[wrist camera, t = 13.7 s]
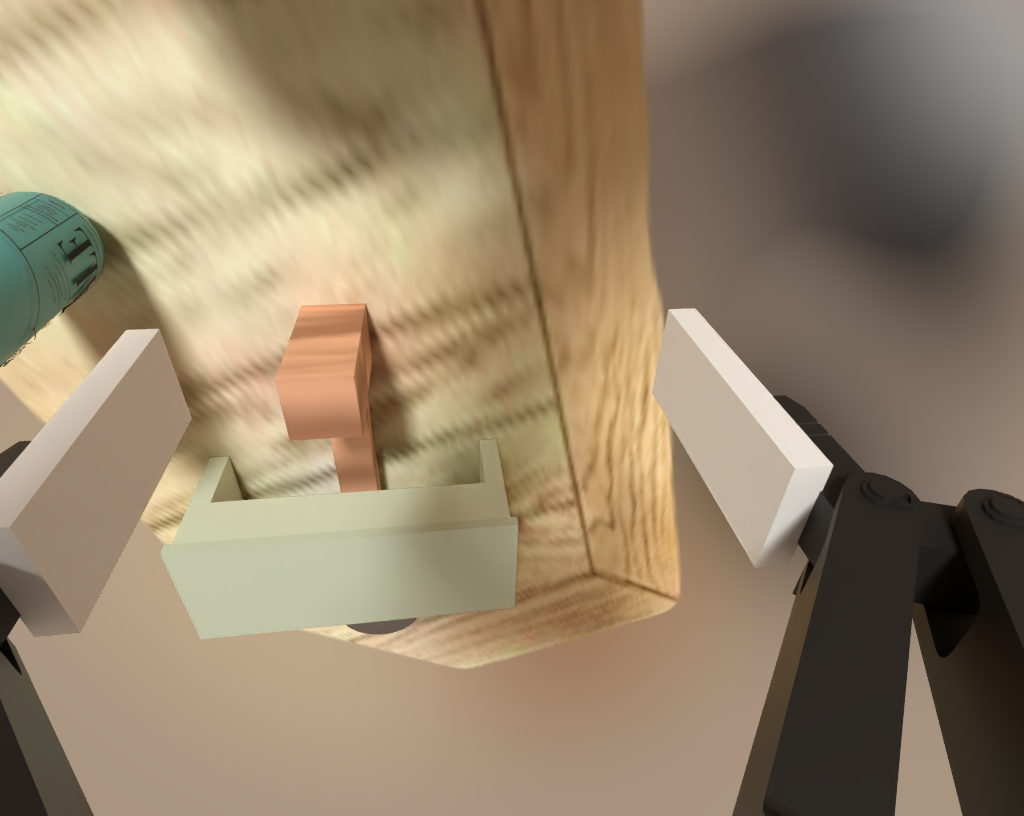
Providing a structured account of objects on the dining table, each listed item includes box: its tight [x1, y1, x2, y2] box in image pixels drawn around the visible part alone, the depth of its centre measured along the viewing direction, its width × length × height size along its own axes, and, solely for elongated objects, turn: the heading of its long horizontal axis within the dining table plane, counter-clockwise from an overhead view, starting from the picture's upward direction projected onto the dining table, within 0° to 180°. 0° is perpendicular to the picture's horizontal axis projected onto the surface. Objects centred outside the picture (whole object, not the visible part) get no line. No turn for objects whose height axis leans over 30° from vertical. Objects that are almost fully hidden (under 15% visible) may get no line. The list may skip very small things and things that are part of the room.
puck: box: [347, 618, 416, 634], centre depth 60 cm, size 8×8×3 cm
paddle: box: [275, 304, 381, 493], centre depth 45 cm, size 22×4×10 cm, turn 179°
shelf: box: [160, 439, 518, 639], centre depth 49 cm, size 10×25×10 cm, turn 89°
